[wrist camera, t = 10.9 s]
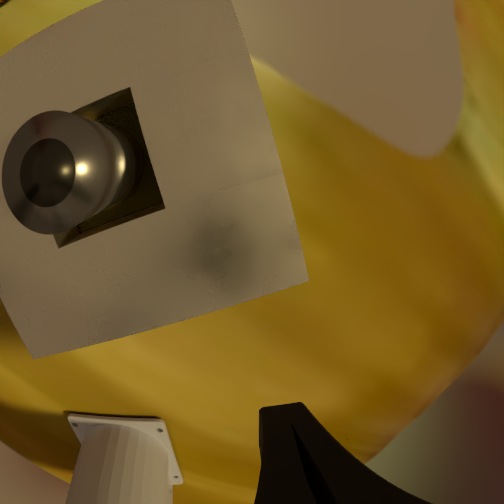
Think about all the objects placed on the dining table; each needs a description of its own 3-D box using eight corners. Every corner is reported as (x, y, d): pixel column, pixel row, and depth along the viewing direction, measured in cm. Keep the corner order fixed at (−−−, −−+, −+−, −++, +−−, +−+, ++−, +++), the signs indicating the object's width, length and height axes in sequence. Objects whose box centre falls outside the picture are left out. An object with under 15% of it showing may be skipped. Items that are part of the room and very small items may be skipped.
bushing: (145, 201, 15) (105, 231, 9) (77, 206, 15) (7, 238, 8) (143, 124, 14) (101, 100, 8) (74, 133, 14) (0, 123, 7)
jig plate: (292, 261, 18) (309, 280, 15) (51, 333, 17) (33, 358, 14) (215, -6, 13) (219, -33, 10) (-24, 103, 12) (-52, 99, 9)
